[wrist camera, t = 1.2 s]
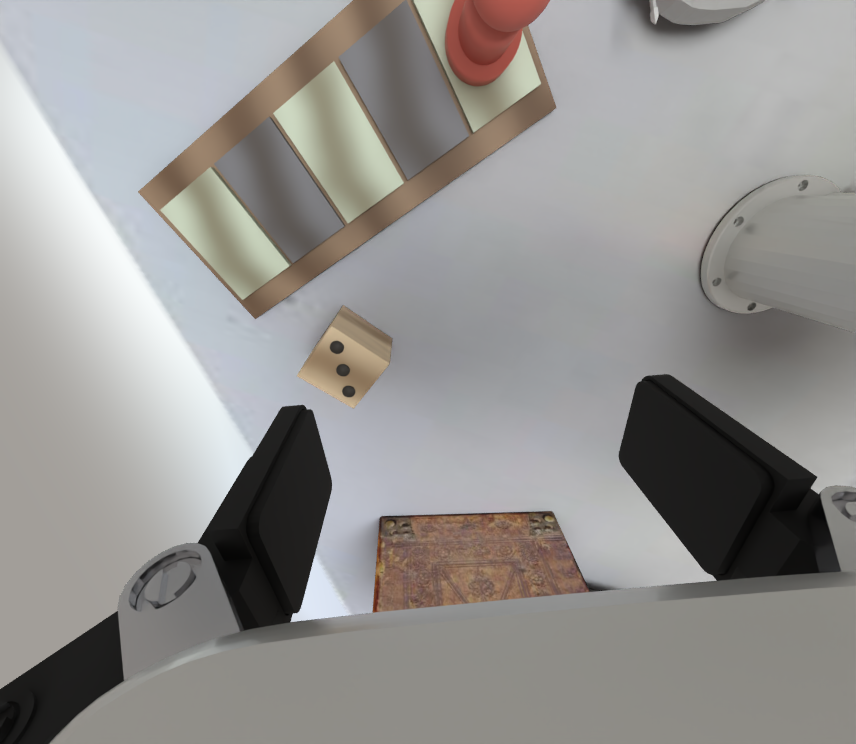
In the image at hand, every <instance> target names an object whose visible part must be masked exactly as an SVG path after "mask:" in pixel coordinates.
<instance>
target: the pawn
mask: <svg viewBox="0 0 856 744" xmlns="http://www.w3.org/2000/svg"><path fill="white" fill-rule="evenodd" d="M549 1H550V0H455V1H454V3H453V5H452V8H451V11H450V15H449V19H448V23H447V28H446V33H445V51H446V56H447V60H448V63H449V65H450V67H451V69H452V71H453V72H454V74H455V75H456V76H457V77H458V78H459V79H460V80H461V81H462V82H464V83H466V84H468V85H471V86H484V85H487V84H490V83H492V82H493V81H495V80H496V79H497V78H498V77H499V76H500V75H501V74H502V73H503V72H504V70H505V69H506V68H507V67H508V65H509V64H510V63H511V61H512V60H513V58H514V56H515V55H516V53H517V50H518V48H519V45H520V42H521V37H522V30H523V28H524V27H526V26H527V25H529V24H530V23H532V22H533V21H534V20H535V19H536V18H537V17H538V16H539V15H540V14H541V13H542V12H543V10H544V9H545V8H546V6H547V5H548V3H549Z"/></svg>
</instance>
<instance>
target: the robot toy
mask: <svg viewBox="0 0 856 744" xmlns="http://www.w3.org/2000/svg"><path fill="white" fill-rule="evenodd" d="M649 1H650V9H651V13H650V18H651V22H652V23H654V24H655V25H656V22H657V19H658V16H659V14H660V15H661V16H663V17H664V18H666V19H668V20H669V21H671V22H673V23H677V24H684V25H701V24H711V23H721V22H725V21H727V20H729V19H731V18H733V17H735V16H737V15H739V14H741V13H743V12H745V11H747V10H749V9H752V8H754V7H755V6H757V5H758V4H760V3H761V2H763V1H765V0H649ZM658 12H659V13H658Z"/></svg>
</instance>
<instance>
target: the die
mask: <svg viewBox="0 0 856 744" xmlns="http://www.w3.org/2000/svg"><path fill="white" fill-rule="evenodd" d="M391 346H392V338H391V337H389V336H388V335H386V334H385V333H383V332H382V331H380V330H379V329H377V328H376V327H374V326H373V325H371V324H370V323H369V322H367V321H366V320H364V319H363V318H361V317H360V316H358V315H357V314H355V313H354V312H352V311H351V310H349V309H348V308H347V307H345V306H344V305H343V306H342V308H341V309H340V311H339V312H338V314H337V315H336V317H335V318H334V319H333V321H332V322H331V324H330V325H329V327H328V328H327V330H326V331H325V333H324V334H323V336H322V337H321V338H320V340H319V341H318V343H317V344H316V346H315V347H314V349H313V350H312V352H311V354H310V355H309V357H308V359H307V360H306V362H305V363H304V365H303V367H302V368H301V370H300V372H299V373H298V375H297V376H298V377H299V378H301V379H303V380H305V381H306V382H308V383H310V384H312V385H313V386H315V387H317V388H319V389H320V390H322V391H324V392H326V393H327V394H329V395H331V396H333V397H334V398H336V399H338V400H339V401H341V402H343V403H345V404H346V405H348V406H350V407H352V408H353V409H354V408H355V406H356V405H357V404H358V403H359V401H360V400H361V399H362V398H363V396H364V395H365V394H366V393H367V391H368V390H369V389H370V388H371V386H372V385H373V384H374V383H375V381H376V380H377V379H378V378H379V376H380V375H381V374H382V373H383V371H384V370H385V369H386V368H387V366H388V365H389V364H390V356H391Z"/></svg>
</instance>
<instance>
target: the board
mask: <svg viewBox="0 0 856 744" xmlns="http://www.w3.org/2000/svg"><path fill="white" fill-rule="evenodd" d="M454 1H455V0H353V1H352V2H351V3H350V4H349V5H347V6H346V7H345V8H344V9H343V10H342V11H341V12H340V13H338V14H337V15H336V16H335V17H334V18H333V19H332V20H331V21H329V22H328V23H327V24H326V25H325V26H324V27H323V28H322V29H320V30H319V31H318V32H317V33H316V34H315V35H314V36H313V37H311V38H310V39H309V40H308V41H307V42H306V43H305V44H304V45H302V46H301V47H300V48H299V49H298V50H297V51H296V52H295V53H294V54H292V55H291V56H290V57H289V58H288V59H287V60H286V61H285V62H283V63H282V64H281V65H280V66H279V67H278V68H277V69H276V70H274V71H273V72H272V73H271V74H270V75H269V76H268V77H267V78H265V79H264V80H263V81H262V82H261V83H260V84H259V85H258V86H256V87H255V88H254V89H253V90H252V91H251V92H250V93H249V94H247V95H246V96H245V97H244V98H243V99H242V100H241V101H240V102H238V103H237V104H236V105H235V106H234V107H233V108H232V109H231V110H229V111H228V112H227V113H226V114H225V115H224V116H223V117H222V118H220V119H219V120H218V121H217V122H216V123H215V124H214V125H213V126H211V127H210V128H209V129H208V130H207V131H206V132H205V133H204V134H202V135H201V136H200V137H199V138H198V139H197V140H196V141H195V142H194V143H192V144H191V145H190V146H189V147H188V148H187V149H186V150H185V151H183V152H182V153H181V154H180V155H179V156H178V157H177V158H176V159H174V160H173V161H172V162H171V163H170V164H169V165H168V166H167V167H165V168H164V169H163V170H162V171H161V172H160V173H159V174H158V175H156V176H155V177H154V178H153V179H152V180H151V181H150V182H149V183H147V184H146V185H145V186H144V187H143V188H142V189H141V190H140V191H138V192H139V193H140V195H141V196H142V197H143V198H144V199H145V200H146V201H147V202H148V203H149V204H150V205H151V206H152V208H153V209H154V210H155V211H156V212H157V213H158V214H159V215H160V216H161V217H162V218H163V220H164V221H165V222H166V223H167V224H168V225H169V226H170V227H171V228H172V229H173V230H174V231H175V233H176V234H177V235H178V236H179V237H180V238H181V239H182V240H183V241H184V242H185V243H186V244H187V246H188V247H189V248H190V249H191V250H192V251H193V252H194V253H195V254H196V255H197V256H198V257H199V259H200V260H201V261H202V262H203V263H204V264H205V265H206V266H207V267H208V268H209V269H210V270H211V272H212V273H213V274H214V275H215V276H216V277H217V278H218V279H219V280H220V281H221V282H222V283H223V285H224V286H225V287H226V288H227V289H228V290H229V291H230V292H231V293H232V294H233V295H234V297H235V298H236V299H237V300H238V301H239V302H240V303H241V304H242V305H243V306H244V307H245V308H246V310H247V311H248V312H249V313H250V314H251V315H252V316H253V317H254V318H255V319H256V318H257V317H259V316H260V315H262V314H263V313H265V312H266V311H267V310H269V309H270V308H272V307H273V306H275V305H276V304H277V303H279V302H280V301H282V300H283V299H284V298H286V297H287V296H289V295H290V294H292V293H293V292H294V291H296V290H297V289H299V288H300V287H302V286H303V285H304V284H306V283H307V282H309V281H310V280H312V279H313V278H314V277H316V276H317V275H319V274H320V273H322V272H323V271H324V270H326V269H327V268H329V267H330V266H332V265H333V264H334V263H336V262H337V261H339V260H340V259H342V258H343V257H344V256H346V255H347V254H349V253H350V252H352V251H353V250H354V249H356V248H357V247H359V246H360V245H362V244H363V243H364V242H366V241H367V240H369V239H370V238H372V237H373V236H374V235H376V234H377V233H379V232H380V231H381V230H383V229H384V228H386V227H387V226H389V225H390V224H391V223H393V222H394V221H396V220H397V219H399V218H400V217H401V216H403V215H404V214H406V213H407V212H409V211H410V210H411V209H413V208H414V207H416V206H417V205H419V204H420V203H421V202H423V201H424V200H426V199H427V198H429V197H430V196H431V195H433V194H434V193H436V192H437V191H439V190H440V189H441V188H443V187H444V186H446V185H447V184H449V183H450V182H451V181H453V180H454V179H456V178H457V177H459V176H460V175H461V174H463V173H464V172H466V171H467V170H468V169H470V168H471V167H473V166H474V165H476V164H477V163H478V162H480V161H481V160H483V159H484V158H486V157H487V156H488V155H490V154H491V153H493V152H494V151H496V150H497V149H498V148H500V147H501V146H503V145H504V144H506V143H507V142H508V141H510V140H511V139H513V138H514V137H516V136H517V135H518V134H520V133H521V132H523V131H524V130H526V129H527V128H528V127H530V126H531V125H533V124H534V123H536V122H537V121H538V120H540V119H541V118H543V117H544V116H546V115H547V114H548V113H550V112H551V111H553V110H554V109H555V108H556V105H555V102H554V99H553V96H552V94H551V91H550V88H549V85H548V82H547V79H546V76H545V73H544V70H543V67H542V65H541V62H540V59H539V56H538V53H537V50H536V47H535V44H534V41H533V39H532V36H531V33H530V30H529V27H528V25H527V26H526V27H524V28H523V30H522V37H521V42H520V45H519V48H518V50H517V53H516V55H515V56H514V58H513V60H512V61H511V63H510V64H509V65H508V67H507V68H506V69H505V70H504V72H503V73H502V74H501V75H500V76H499V77H498V78H497V79H496V80H495V81H493V82H492V83H490V84H487V85H484V86H471V85H468V84H466V83H464V82H462V81H461V80H460V79H459V78H458V77H457V76H456V75H455V74H454V72H453V71H452V69H451V67H450V65H449V63H448V60H447V56H446V51H445V33H446V28H447V23H448V19H449V15H450V11H451V8H452V5H453V3H454Z"/></svg>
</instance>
